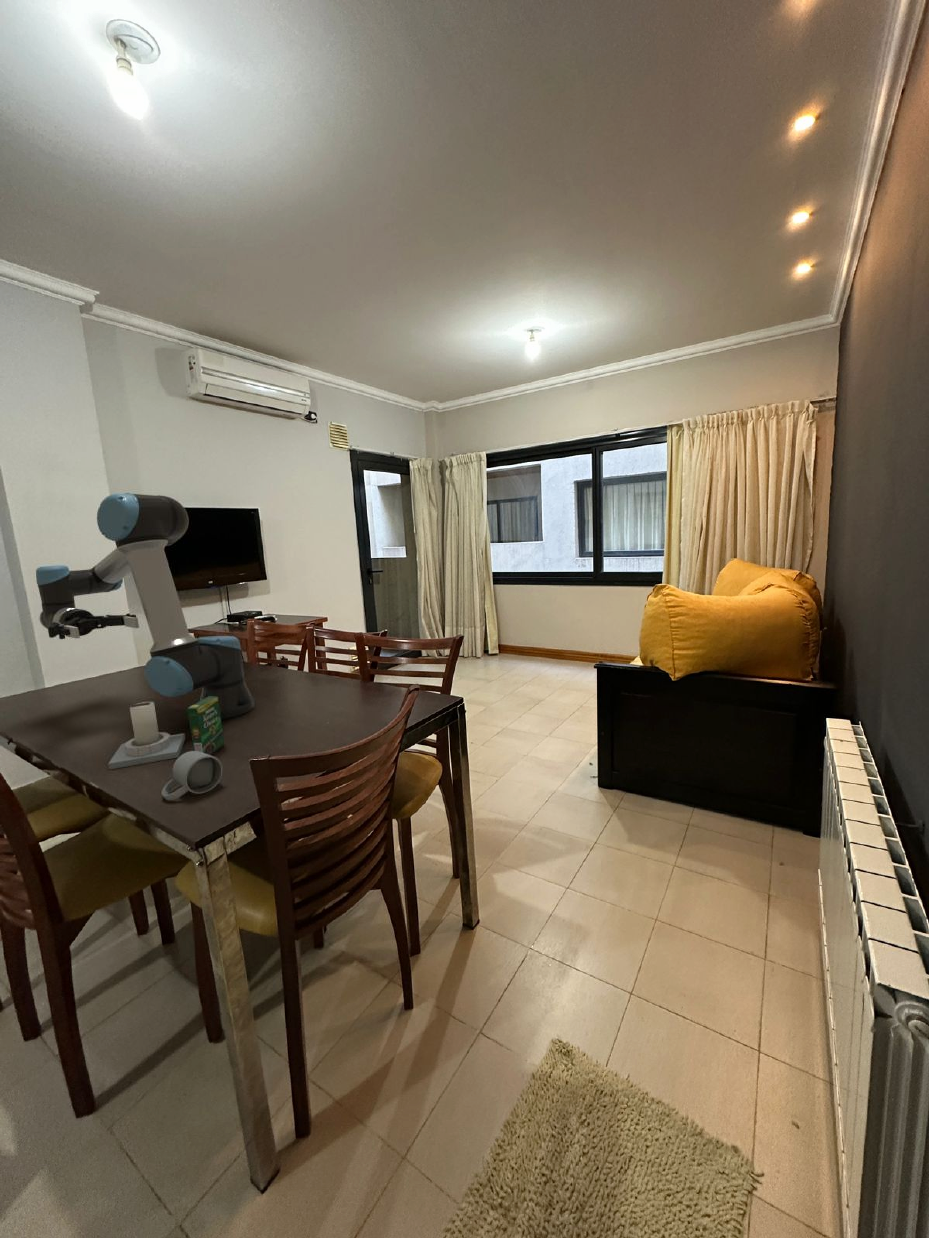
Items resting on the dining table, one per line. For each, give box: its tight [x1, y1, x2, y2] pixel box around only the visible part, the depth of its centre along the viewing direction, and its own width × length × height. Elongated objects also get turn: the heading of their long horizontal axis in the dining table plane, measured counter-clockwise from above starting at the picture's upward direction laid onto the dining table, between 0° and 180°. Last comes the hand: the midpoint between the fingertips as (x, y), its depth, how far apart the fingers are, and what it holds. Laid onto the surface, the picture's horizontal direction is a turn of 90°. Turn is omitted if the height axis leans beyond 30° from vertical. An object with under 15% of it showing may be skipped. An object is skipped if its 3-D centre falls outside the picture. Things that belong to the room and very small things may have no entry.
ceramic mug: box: [161, 750, 224, 802], centre depth 103 cm, size 11×8×8 cm
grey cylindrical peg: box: [129, 701, 160, 746], centre depth 121 cm, size 5×5×11 cm
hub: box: [108, 731, 186, 770], centre depth 122 cm, size 14×12×4 cm
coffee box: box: [187, 696, 225, 755], centre depth 120 cm, size 8×3×13 cm, turn 171°
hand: (108, 627), depth 128 cm, fingers open, 13 cm apart
